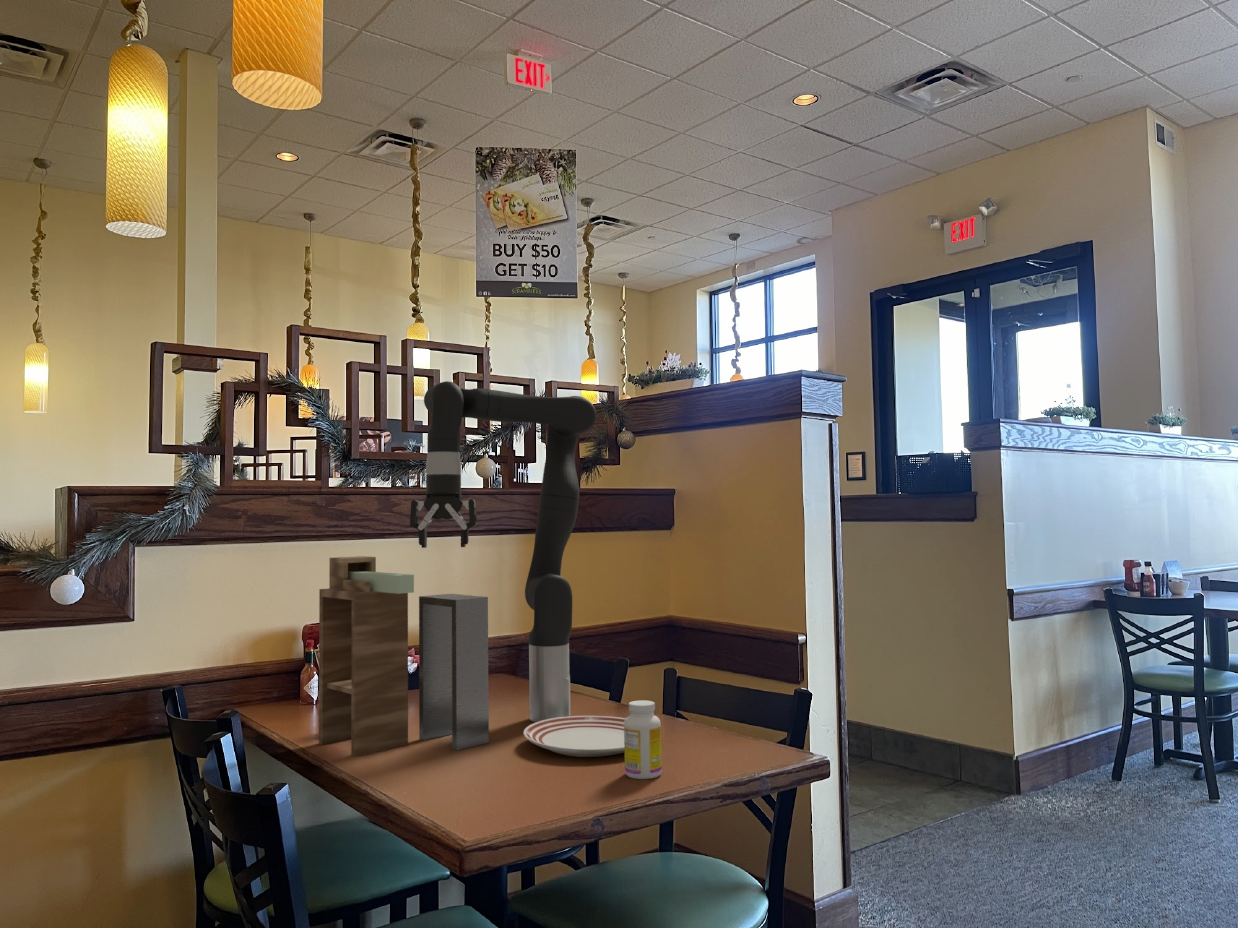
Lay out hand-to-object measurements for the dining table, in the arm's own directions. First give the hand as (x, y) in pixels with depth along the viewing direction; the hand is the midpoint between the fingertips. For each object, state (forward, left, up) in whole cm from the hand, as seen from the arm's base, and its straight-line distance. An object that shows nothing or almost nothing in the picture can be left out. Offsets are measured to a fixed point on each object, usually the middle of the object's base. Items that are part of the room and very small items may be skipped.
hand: (443, 547), depth 197 cm
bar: (+11, +11, -8) cm, 18 cm away
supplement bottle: (-42, +33, -40) cm, 67 cm away
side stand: (-3, +6, -40) cm, 41 cm away
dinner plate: (-32, +11, -41) cm, 53 cm away
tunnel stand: (+15, +8, -40) cm, 44 cm away
